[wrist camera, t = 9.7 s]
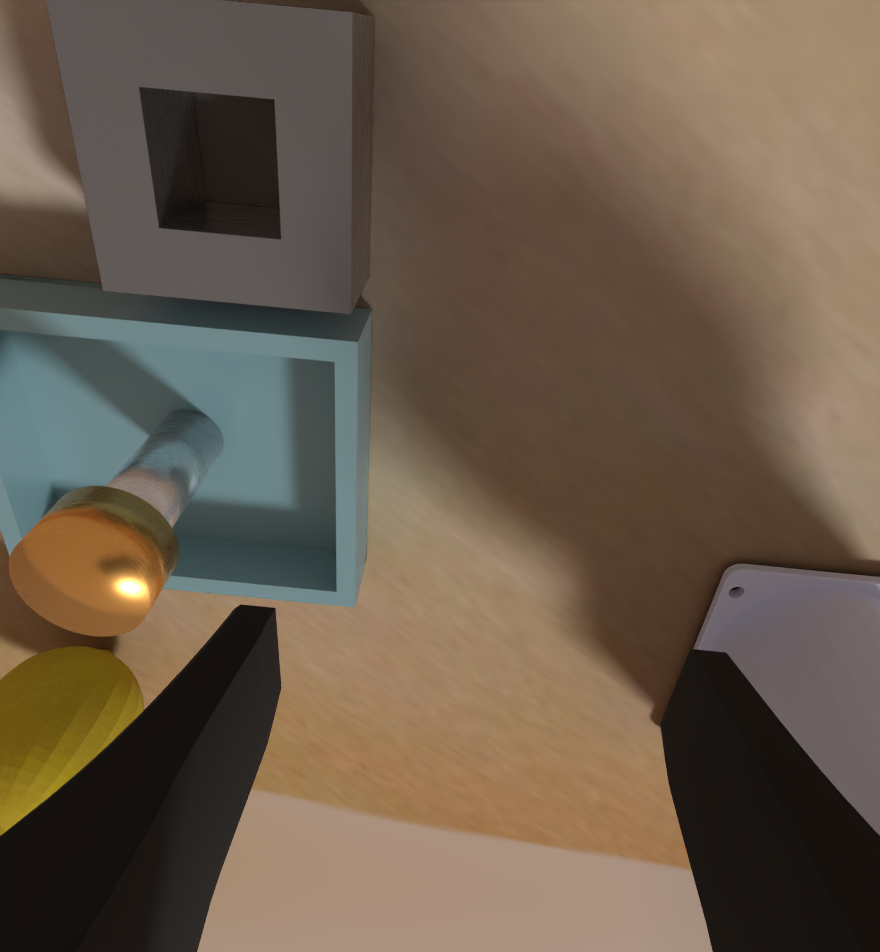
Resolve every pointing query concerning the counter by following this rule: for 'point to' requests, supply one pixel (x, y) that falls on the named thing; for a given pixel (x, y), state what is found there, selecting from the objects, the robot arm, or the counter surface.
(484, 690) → the counter surface
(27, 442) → the tray
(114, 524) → the lock pin
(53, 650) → the lemon
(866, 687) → the robot arm
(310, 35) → the dark disc and block
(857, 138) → the counter surface
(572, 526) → the counter surface
